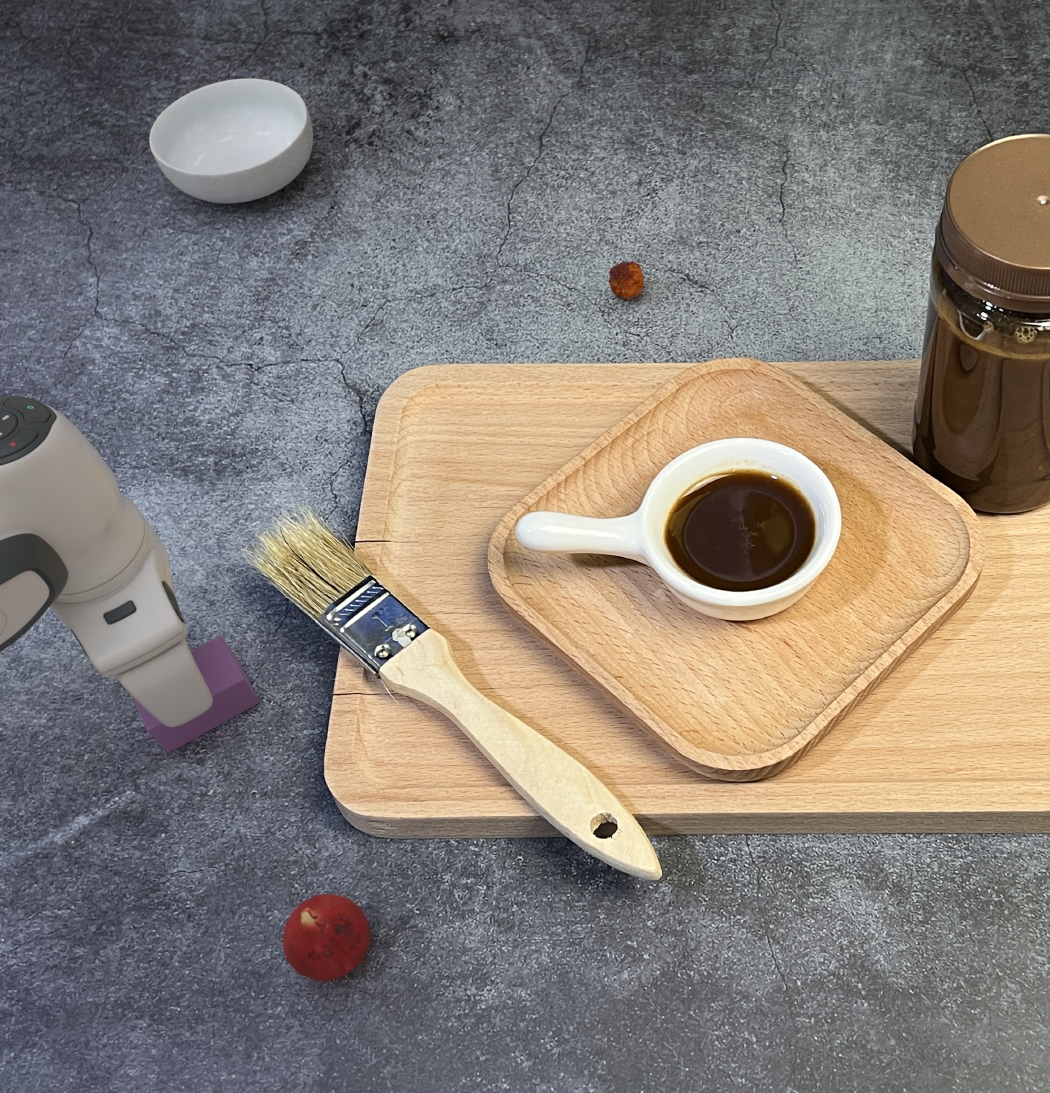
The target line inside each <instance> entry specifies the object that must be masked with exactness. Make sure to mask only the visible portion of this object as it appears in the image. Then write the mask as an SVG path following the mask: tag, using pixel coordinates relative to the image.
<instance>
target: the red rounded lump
mask: <svg viewBox="0 0 1050 1093" xmlns="http://www.w3.org/2000/svg"><path fill="white" fill-rule="evenodd" d="M282 936H283V937H282V949H283V952H284V956H285V959H286V961H287V963H288V964H289V965H290V966H291V967H292V968H293V969H294V971H295V972H296V973H297V974H298V975H300V976H301V977H305V978H308V979H311V980H314V981H316V982H333V981H334V980H337V979H340V978H342V977H344V976H348V975H349V974H350V973H351V972H352V971H353V970H354V969H355V968H357V967H358V966H359V965H360V964H361V963H362V962H363V961H364V958H365V956H366V954H367V952H368V951H369V948H370V943H371V942H370V941H371V927H370V924H369V922H368V919H367V917H366V915H365V912H364V911H363V910H362V908H361V907H360V906H358V905H357V904H356V903H355V901H352V900H351V899H350V897H349V898H348V897H346V896H341V895H337V894H335V893H324V894H314V895H313V896H312V897H309V898H308V899H306V900H304V901H302V902H301V903H300V904H299V905H298V906H297V907H296V908H295V909H294V910H293V911H292V912H291V913H290V915H289V918H288V919H287V921H286V923H285V925H284V929H283V935H282Z"/></svg>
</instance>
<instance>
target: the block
mask: <svg viewBox="0 0 1050 1093" xmlns="http://www.w3.org/2000/svg"><path fill="white" fill-rule="evenodd" d="M190 651H191V654H192V656H193V658H194V660H195V662H196V664H197V666H198V668H199V670H200V672H201V674H202V676H203V678H204V680H205V682H206V684H207V686H208V688H209V690H210V693H211V695H212V698H213V704H212V706H211V707H210V708H209V709H208V710H207V711H205V712H204V713H203V714H201V715H199V716H197V717H196V718H194V719H192V720H190V721H188V722H186V723H184V724H182V725H180V726H176V727H168V726H165V725H164V724H162V723H161V722H160V721H159V720H158V719H156V718H155V717H154V716H153V715H152V714H151V713H150V712H149V711H147V710H146V709H145V708H144V707H143V706H142V705H141V704H140V703H139V702H138V701H137V700H136V699H135V698H134V697H133V696H132V695H131V694H130V696H131V699H132V701H133V703H134V705H135V707H136V710H137V712H138V714H139V716H140V718H141V720H142V723H143V724H144V727H145V729H146V731H147V732H148V733H149V735H150V736H151V737H152V738H153V739H154V740H155V742H156V743H157V744H158V745H159V746H160V748H162V749H163V750H164V752H166V754H170V753H172V752H174V751H175V750H177V749H179V748H181V747H183V746H185V745H186V744H188V743H190V742H192V741H194V740H196V739H197V738H199V737H201V736H203V735H204V734H206V733H208V732H209V731H213V729H216V728H217V727H219V726H221V725H223V724H224V723H227V722H228V721H230V720H232V719H234V718H236V717H237V716H239V715H241V714H242V712H243V713H245V712H246V711H248V710H249V709H248V708H250V709H251V708H253V707H256V706H257V705H258V704H257V703H259V704H261V700H260V697H259V696H258V694H257V692H256V691H254V690H255V688H254V686H253V685H252V683H251V681H250V679H249V677H248V675H247V674H245V673H246V672H244V671H245V670H244V668H243V666H242V664H241V661H240V660H239V659H238V657H237V656H236V654H235V653H234V651H233V650H232V649H231V647H230V646H229V644H228V643H227V641H226V640H225V639H224V637H223V635H221V634H220V635H218V636H216V637H214V638H212V639H210V640H208V641H207V642H205V643H203V644H202V645H199V646H197V647H196V648H194V649H192V650H190ZM255 692H256V693H255ZM256 704H257V705H256ZM252 706H253V707H252ZM245 710H246V711H245ZM240 713H241V714H240Z"/></svg>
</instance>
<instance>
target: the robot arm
mask: <svg viewBox="0 0 1050 1093" xmlns="http://www.w3.org/2000/svg"><path fill="white" fill-rule="evenodd" d="M170 564H171V562H170V555H169V552H168V549H167V547H166V545H165V544H164V543H163V541H162V539H161V538H160V537H159V535H158V534H157V532H156V531H155V530H154V528H153V527H152V525H151V524H150V523H149V522H148V520H147V518H146V517H145V516H144V514H143V512H141V510H140V509H139V507H138V506H137V505H136V504H135V503H134V502H133V501H132V499H130V498H129V497H127V496H126V495H125V494H123V493H121V489H120V486H119V482H118V479H117V477H116V475H115V474H114V472H113V470H112V468H111V467H110V466H109V465H108V463H106V461H105V459H104V458H103V457H102V456H101V454H100V453H99V451H98V450H97V449H96V448H95V447H94V445H93V444H92V443H91V442H90V440H89V439H88V438H87V437H86V436H85V435H84V433H83V432H82V431H81V430H80V429H79V428H78V427H77V426H76V425H75V424H74V423H73V422H72V421H71V420H69V419H68V418H67V417H66V416H65V415H64V414H63V413H61V412H60V411H58V410H57V409H55V408H54V407H52V406H50V405H48V404H46V403H44V402H42V401H40V400H37V399H34V398H30V397H26V396H19V395H0V653H1V652H3V651H4V650H5V649H7V648H9V646H11V645H12V644H14V643H16V642H17V641H18V640H19V639H21V637H23V636H24V635H25V634H26V633H28V631H29V630H30V629H32V627H34V625H35V624H36V623H37V622H38V621H39V620H40V619H41V617H42V616H43V615H45V613H46V612H47V610H48V609H50V610H51V611H52V612H53V614H55V615H56V617H57V618H58V619H59V620H60V621H61V622H62V623H63V624H64V625H65V626H66V627H68V628H69V630H70V632H71V633H72V634H73V636H74V637H75V639H76V641H77V642H78V644H79V646H80V648H81V650H83V652H84V654H85V656H86V657H87V658H88V660H89V661H90V662H91V665H92V666H93V667H94V668H95V670H96V671H97V672H98V673H99V674H100V676H102V677H103V678H106V679H109V678H111V677H114V676H115V678H116V679H117V680H118V682H119V683H120V685H122V687H123V688H124V689H125V691H127V693H128V694H130V696H131V695H132V696H133V697H134V698H135V699H136V700H137V701H138V702H139V703H140V704H141V705H142V706H143V707H144V708H145V709H146V710H147V711H149V712H150V713H151V714H152V715H153V716H154V717H155V718H156V719H158V720H159V721H160V722H161V723H162V724H164V725H165V726H168V727H176V726H180V725H182V724H184V723H186V722H188V721H190V720H192V719H194V718H196V717H197V716H199V715H201V714H203V713H204V712H205V711H207V710H208V709H209V708H210V707H211V706H212V704H213V698H212V695H211V693H210V690H209V688H208V686H207V684H206V682H205V680H204V678H203V676H202V674H201V672H200V670H199V668H198V666H197V664H196V662H195V660H194V658H193V656H192V654H191V651H192V650H191V649H190V647H189V645H188V643H187V639H186V637H188V635H189V630H188V628H187V626H186V624H185V619H184V617H183V614H182V612H181V609H180V606H179V604H178V600H177V597H176V595H175V591H174V585H173V578H172V574H171V570H170V568H171V566H170Z"/></svg>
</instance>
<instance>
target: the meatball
mask: <svg viewBox="0 0 1050 1093" xmlns="http://www.w3.org/2000/svg"><path fill="white" fill-rule="evenodd" d="M608 274H609V277H610V278H609V279H608V283H609V287H610V289H611V292H612V293H613V294H614V295H616V297H617V298H621V299H625V300H631V299H634V298H636V297H637V296H639V294H641V293H642V290H643V289H644V285H645V282H644V280H645V276H644V274H643V271H642V268H641V265H640V264H639V263H638V262H635V261H621V262H619V263H617V264H616V265H614V266H612V267H611V268H610V269H609V273H608Z"/></svg>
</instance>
